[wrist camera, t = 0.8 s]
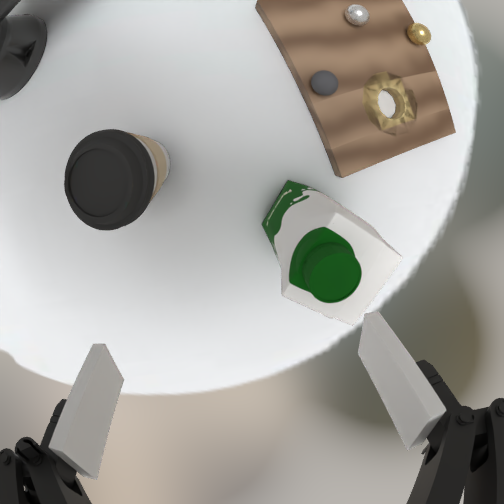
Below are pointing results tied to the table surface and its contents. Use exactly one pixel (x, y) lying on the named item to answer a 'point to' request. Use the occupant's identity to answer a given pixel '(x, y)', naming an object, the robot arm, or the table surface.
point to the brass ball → (419, 33)
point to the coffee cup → (114, 177)
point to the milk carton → (327, 253)
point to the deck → (360, 78)
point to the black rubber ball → (324, 82)
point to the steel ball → (357, 14)
